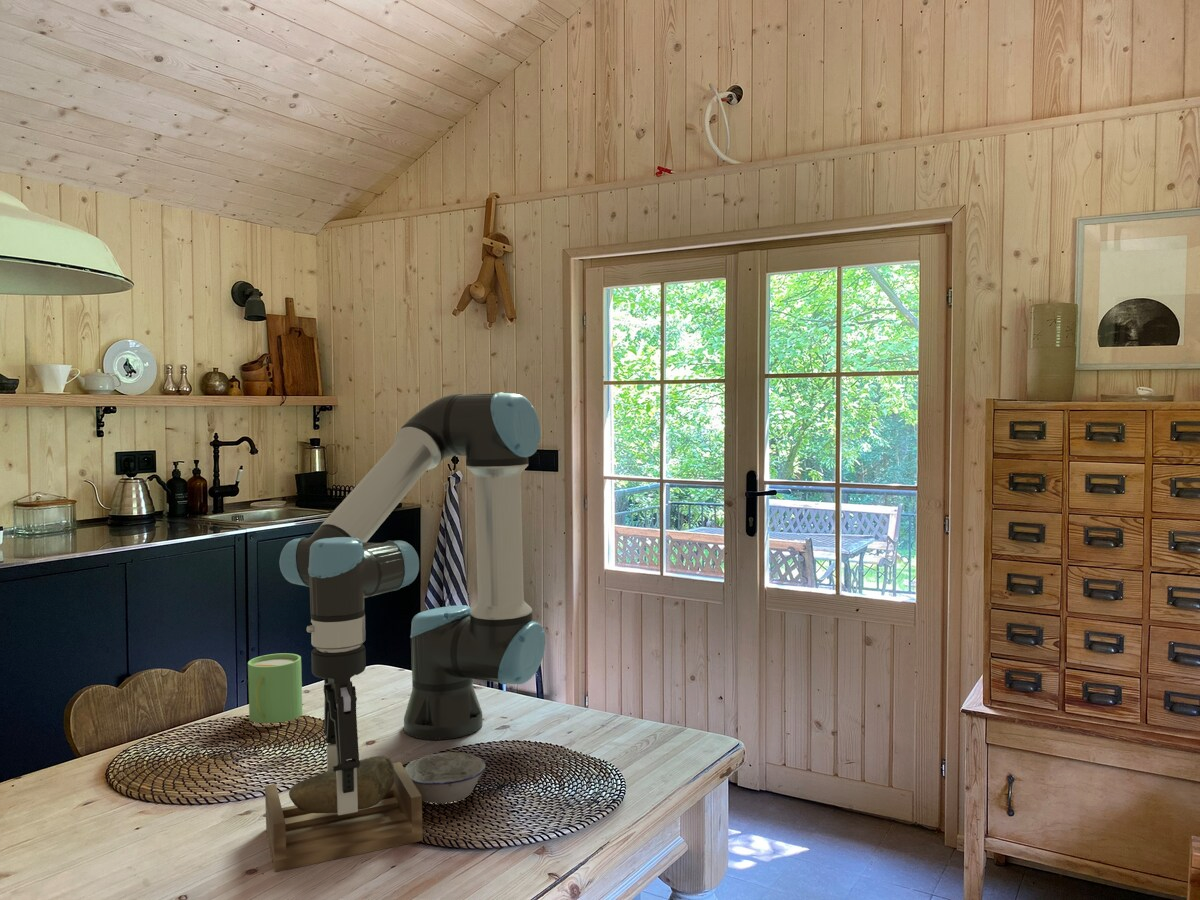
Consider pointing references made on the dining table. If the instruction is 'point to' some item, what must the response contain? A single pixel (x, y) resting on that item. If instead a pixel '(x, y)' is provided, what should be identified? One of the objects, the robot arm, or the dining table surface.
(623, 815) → the dining table surface
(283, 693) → the mug
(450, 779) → the bowl
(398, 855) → the dining table surface
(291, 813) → the rack
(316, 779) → the stone
